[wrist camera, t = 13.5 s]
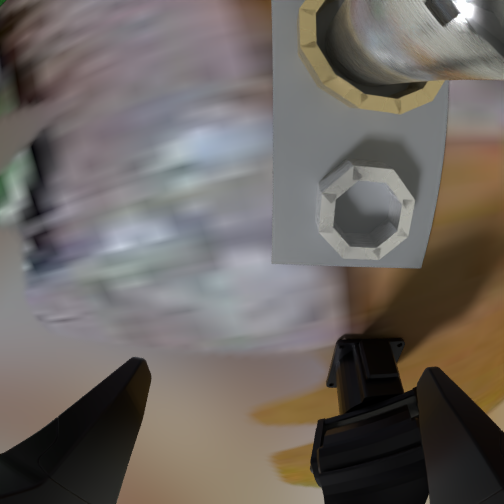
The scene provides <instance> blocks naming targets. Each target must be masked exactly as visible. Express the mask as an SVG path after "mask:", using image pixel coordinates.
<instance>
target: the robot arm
mask: <svg viewBox="0 0 504 504" xmlns="http://www.w3.org/2000/svg"><path fill="white" fill-rule="evenodd" d="M399 343H400V344H399ZM340 345H342V346H340ZM404 345H405V342H404V340H403V339H402V338H393V339H358V340H339V341H338V342H337V343H336V346H335V350H334V354H333V358H332V362H331V366H330V369H329V373H328V377H327V381H326V385H327V387H330V388H336V387H337V393H338V402H339V412H340V415H338V416H335V417H331V418H327V419H325V418H324V419H320V420H318V423H317V428H316V432H315V438H314V444H313V450H312V456H311V462H310V463H311V466H310V470H311V472H312V473H313V474H314V477H315V480H316V482H317V484H318V485H319V486H320V487H321V488H322V490H323V495H324V502H325V504H425V503H426V500H427V498H428V495H429V498H430V504H504V432H503V431H501V429H500V428H499V427H498V426H497V425H496V424H495V423H494V422H493V421H492V420H491V419H490V418H489V417H488V415H487V414H486V413H485V412H484V411H483V410H482V409H481V408H480V407H479V406H478V405H477V404H476V403H475V402H474V401H473V400H472V399H471V398H470V397H469V396H468V395H467V394H466V393H465V392H464V391H463V390H462V389H461V388H460V387H458V386H457V385H456V384H455V383H454V382H453V381H452V380H451V379H450V378H449V377H448V376H447V375H446V374H445V373H444V372H443V371H442V370H441V369H440V368H439V367H428V368H426V369H425V370H424V372H423V374H422V376H421V378H420V379H419V381H418V383H417V387H415V388H413V389H412V390H410V391H408V392H405V393H404V390H403V386H402V383H401V379H400V376H399V371H398V367H397V364H396V363H397V361H398V359H399V357H400V354H401V352H402V350H403V348H404ZM150 384H151V373H150V371H149V368H148V365H147V362H146V360H145V359H143V358H138V357H132V358H131V359H129V360H128V361H127V362H126V363H124V364H123V365H122V366H121V367H119V368H118V369H117V370H116V371H114V372H113V373H112V374H111V375H109V376H108V377H107V378H106V379H104V380H103V381H102V382H101V383H99V384H98V385H97V386H96V387H94V388H93V389H92V390H91V391H89V392H88V393H87V394H86V395H84V396H83V397H82V398H81V399H79V400H78V401H77V402H76V403H74V404H73V405H72V406H71V407H69V408H68V409H67V410H65V411H64V412H63V413H62V414H60V415H59V416H58V418H55V419H54V420H53V421H52V422H50V423H49V424H48V425H46V426H45V427H44V428H42V429H41V430H40V431H38V432H37V433H35V434H34V435H32V436H31V437H29V438H27V439H26V440H24V441H22V442H21V443H19V444H18V445H16V446H14V447H13V448H11V449H9V450H8V451H6V452H4V453H2V454H0V504H116V503H117V499H118V496H119V492H120V489H121V486H122V483H123V479H124V476H125V473H126V470H127V466H128V463H129V460H130V456H131V454H132V451H133V448H134V444H135V441H136V438H137V435H138V432H139V429H140V426H141V423H142V420H143V415H144V411H145V407H146V402H147V397H148V393H149V388H150Z"/></svg>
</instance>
